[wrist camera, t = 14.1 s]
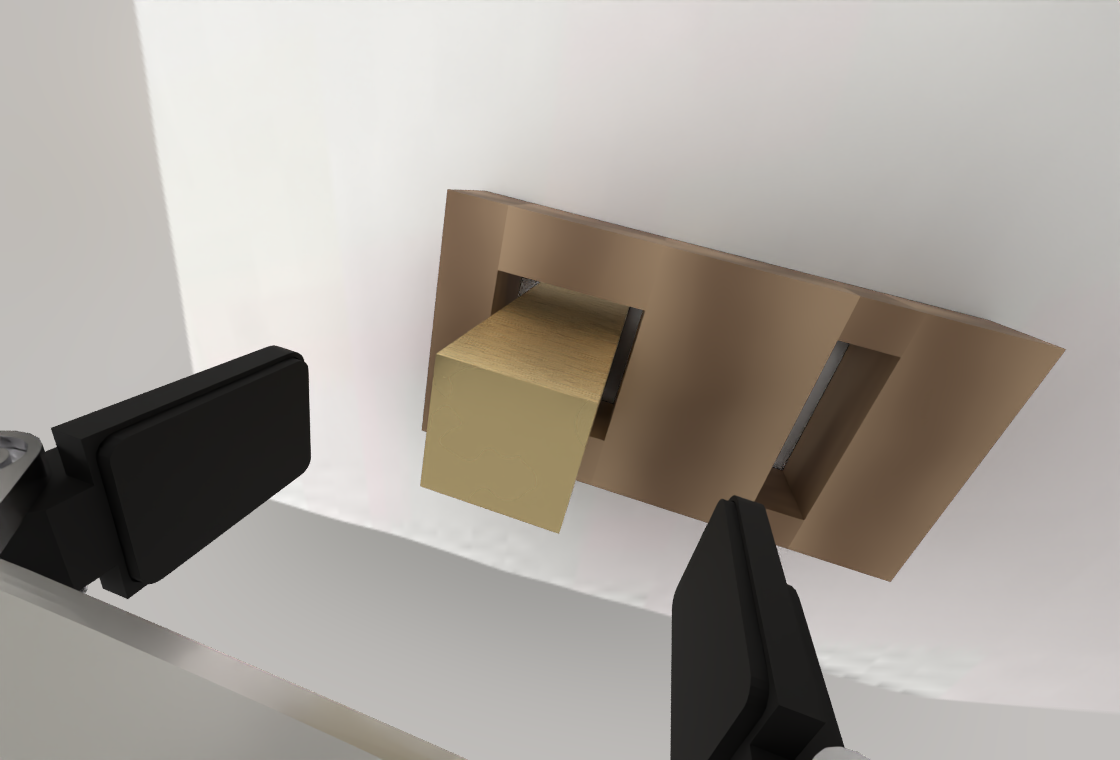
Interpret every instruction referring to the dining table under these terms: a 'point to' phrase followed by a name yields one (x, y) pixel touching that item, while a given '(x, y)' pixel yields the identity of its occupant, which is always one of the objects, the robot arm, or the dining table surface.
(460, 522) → the dining table surface
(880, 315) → the block
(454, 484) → the square bit
